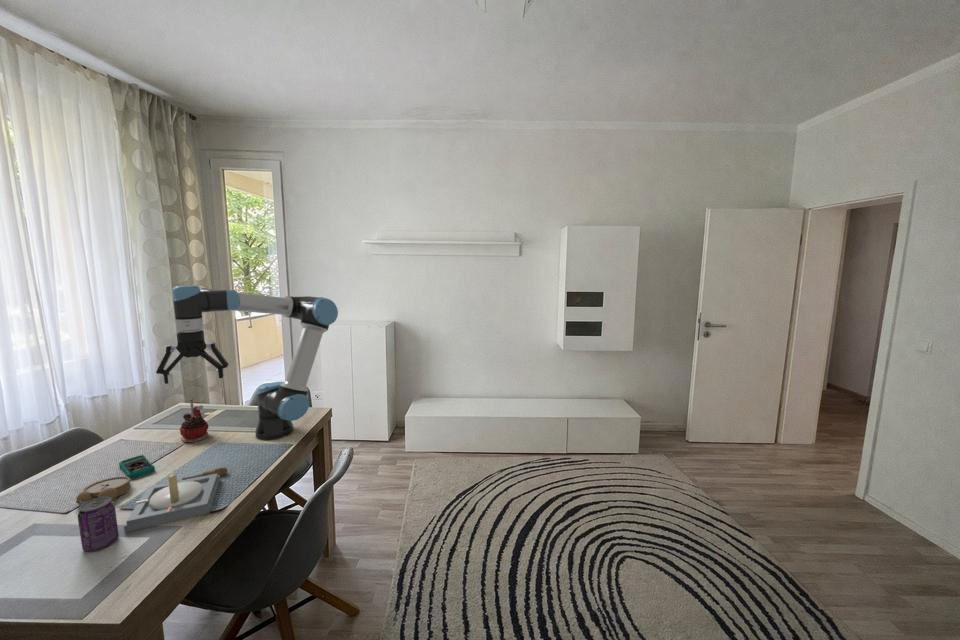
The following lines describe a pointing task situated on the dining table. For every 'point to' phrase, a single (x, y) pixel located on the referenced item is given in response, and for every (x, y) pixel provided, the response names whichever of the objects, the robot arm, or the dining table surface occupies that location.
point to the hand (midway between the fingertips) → (195, 389)
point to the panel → (151, 517)
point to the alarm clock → (104, 489)
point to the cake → (194, 425)
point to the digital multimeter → (136, 467)
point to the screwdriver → (209, 473)
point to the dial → (175, 494)
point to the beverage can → (97, 523)
